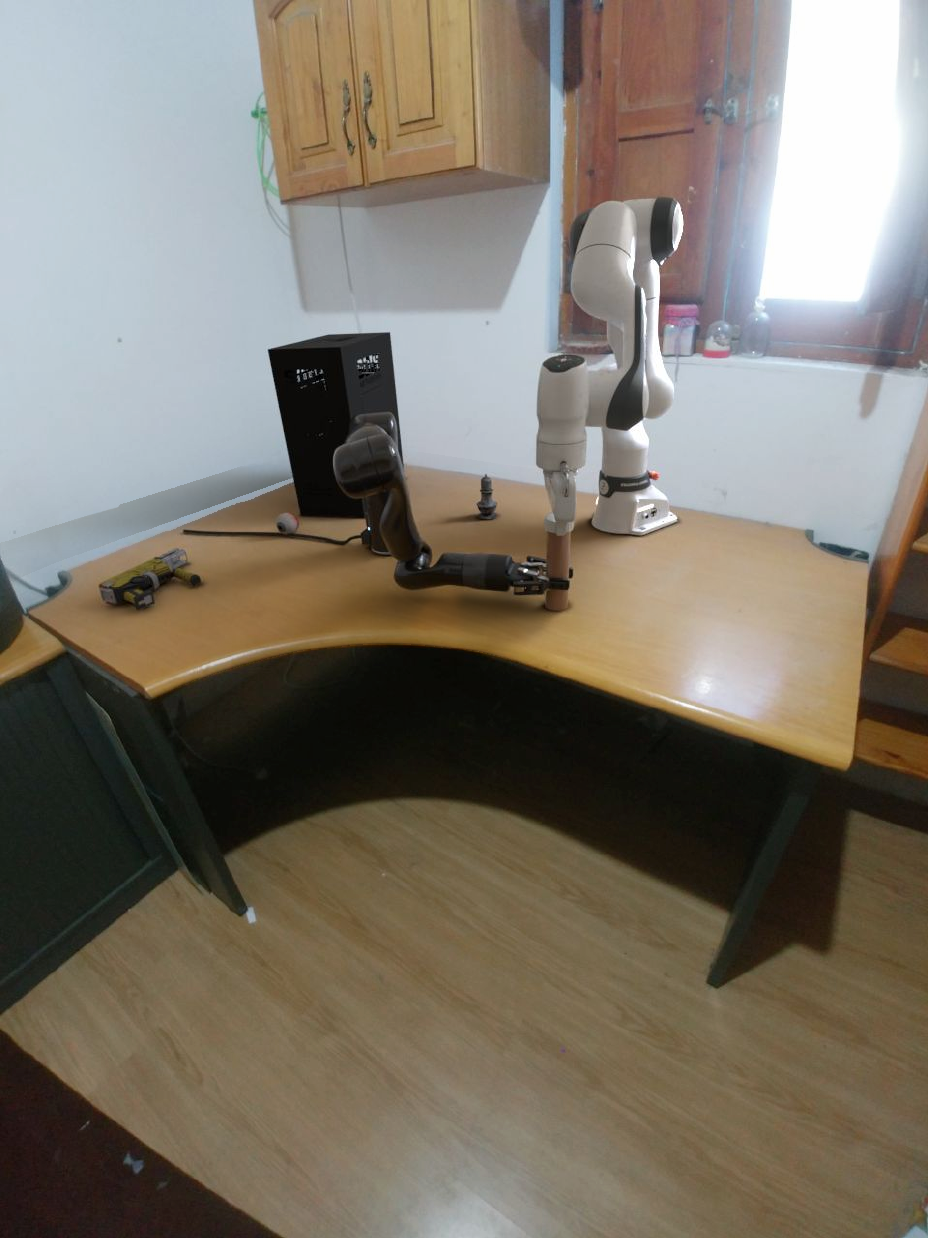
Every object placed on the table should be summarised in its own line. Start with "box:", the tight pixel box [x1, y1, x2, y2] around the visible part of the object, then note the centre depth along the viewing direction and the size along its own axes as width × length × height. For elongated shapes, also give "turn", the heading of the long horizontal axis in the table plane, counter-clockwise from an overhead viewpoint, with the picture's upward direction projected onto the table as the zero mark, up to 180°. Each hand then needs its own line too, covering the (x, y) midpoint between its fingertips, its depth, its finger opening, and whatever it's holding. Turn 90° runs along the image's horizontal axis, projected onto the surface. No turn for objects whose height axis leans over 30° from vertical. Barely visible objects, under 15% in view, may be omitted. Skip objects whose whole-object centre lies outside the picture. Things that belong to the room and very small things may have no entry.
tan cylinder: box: [544, 531, 572, 612], centre depth 118 cm, size 4×4×19 cm
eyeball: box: [275, 511, 300, 534], centre depth 163 cm, size 6×6×6 cm
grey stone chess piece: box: [476, 473, 498, 520], centre depth 166 cm, size 6×6×12 cm
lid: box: [543, 511, 575, 533], centre depth 114 cm, size 6×6×2 cm
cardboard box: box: [267, 331, 405, 518], centre depth 180 cm, size 38×20×45 cm, turn 167°
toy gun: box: [98, 547, 202, 611], centre depth 139 cm, size 5×24×15 cm
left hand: (570, 578), depth 119 cm, fingers closed on tan cylinder, 4 cm apart
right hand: (558, 527), depth 115 cm, fingers closed on lid, 5 cm apart
